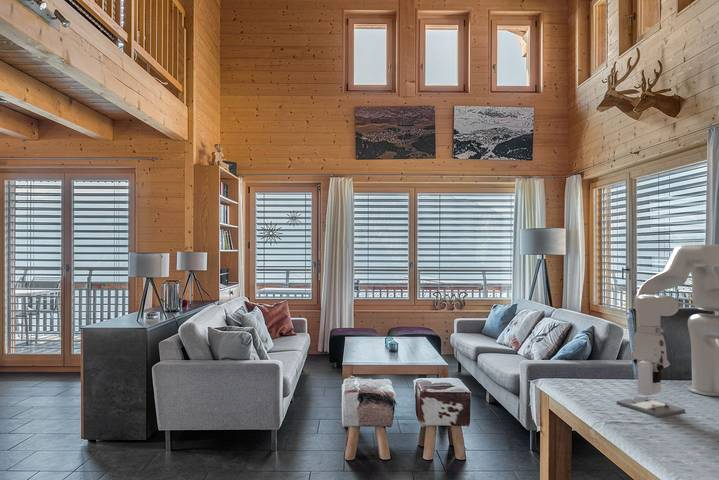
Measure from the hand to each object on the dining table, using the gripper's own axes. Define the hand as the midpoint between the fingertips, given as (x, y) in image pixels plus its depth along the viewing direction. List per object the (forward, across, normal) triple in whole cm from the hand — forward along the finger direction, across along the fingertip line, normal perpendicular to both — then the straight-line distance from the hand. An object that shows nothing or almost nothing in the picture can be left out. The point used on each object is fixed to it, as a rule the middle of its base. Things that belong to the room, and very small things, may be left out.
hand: (649, 380), depth 171 cm
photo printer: (+5, 0, 0) cm, 5 cm away
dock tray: (+10, 0, 0) cm, 10 cm away
